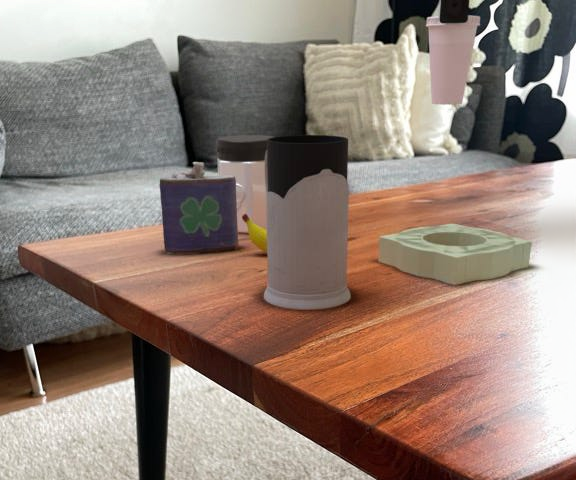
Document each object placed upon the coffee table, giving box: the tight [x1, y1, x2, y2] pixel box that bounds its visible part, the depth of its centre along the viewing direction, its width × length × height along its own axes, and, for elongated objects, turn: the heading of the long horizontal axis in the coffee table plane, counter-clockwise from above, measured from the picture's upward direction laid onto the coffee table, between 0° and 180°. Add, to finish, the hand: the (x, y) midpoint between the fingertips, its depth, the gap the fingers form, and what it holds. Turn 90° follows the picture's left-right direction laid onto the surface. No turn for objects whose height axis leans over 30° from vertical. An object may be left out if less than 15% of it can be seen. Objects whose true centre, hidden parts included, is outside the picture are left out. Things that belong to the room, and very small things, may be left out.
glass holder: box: [263, 134, 352, 311], centre depth 71 cm, size 9×14×15 cm, turn 24°
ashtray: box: [377, 222, 533, 286], centre depth 82 cm, size 13×13×3 cm
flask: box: [158, 161, 239, 255], centre depth 87 cm, size 9×3×11 cm, turn 103°
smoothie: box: [425, 14, 481, 106], centre depth 87 cm, size 6×6×14 cm
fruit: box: [242, 214, 267, 253], centre depth 86 cm, size 10×2×5 cm, turn 88°
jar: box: [216, 134, 274, 234], centre depth 99 cm, size 9×8×12 cm
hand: (453, 22), depth 86 cm, fingers closed on smoothie, 6 cm apart
